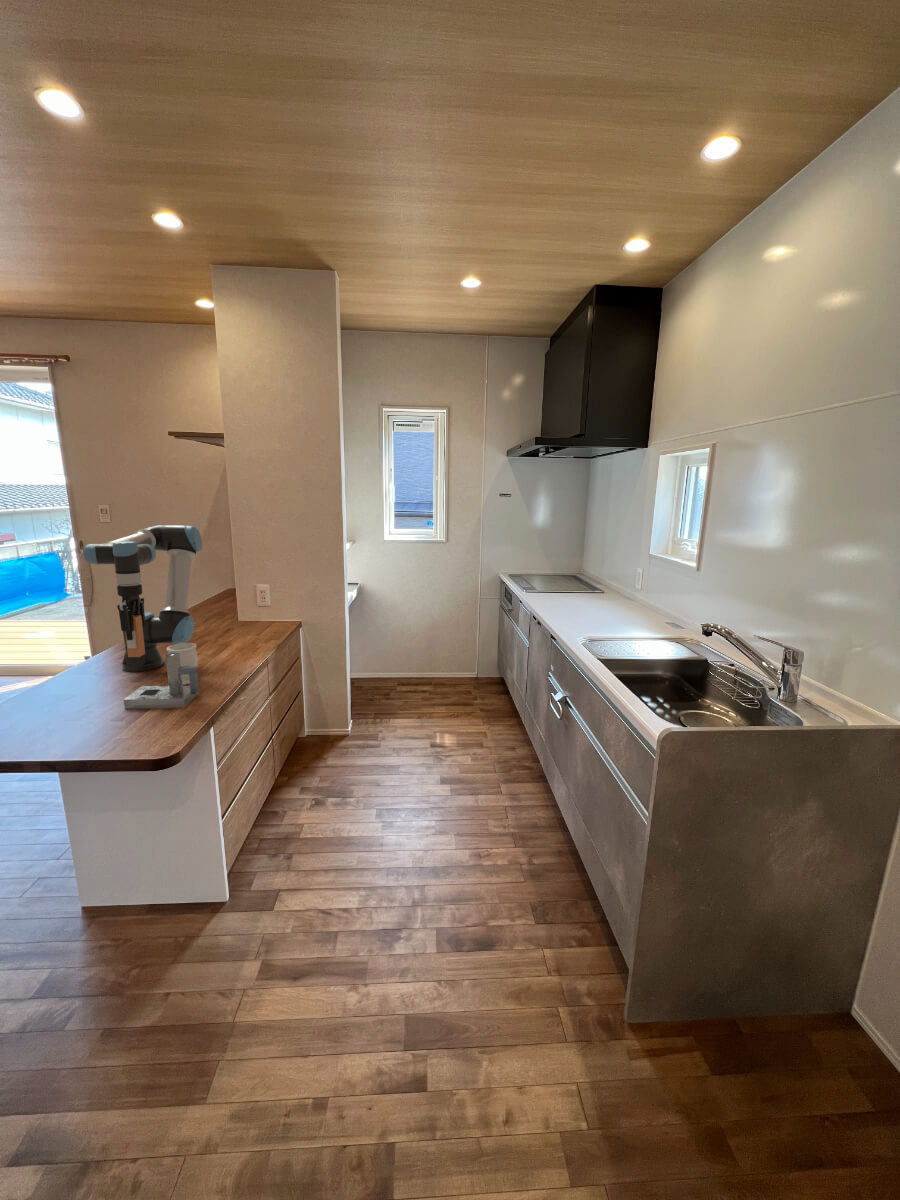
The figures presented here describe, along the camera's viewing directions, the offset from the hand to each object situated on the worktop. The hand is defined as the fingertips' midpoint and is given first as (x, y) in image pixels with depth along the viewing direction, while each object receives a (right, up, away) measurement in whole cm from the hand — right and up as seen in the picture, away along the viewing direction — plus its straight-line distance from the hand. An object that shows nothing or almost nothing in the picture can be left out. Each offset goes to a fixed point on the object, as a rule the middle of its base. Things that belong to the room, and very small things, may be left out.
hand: (135, 645), depth 177 cm
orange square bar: (0, -4, +1) cm, 4 cm away
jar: (+9, -16, +17) cm, 25 cm away
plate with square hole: (+12, -20, -2) cm, 24 cm away
